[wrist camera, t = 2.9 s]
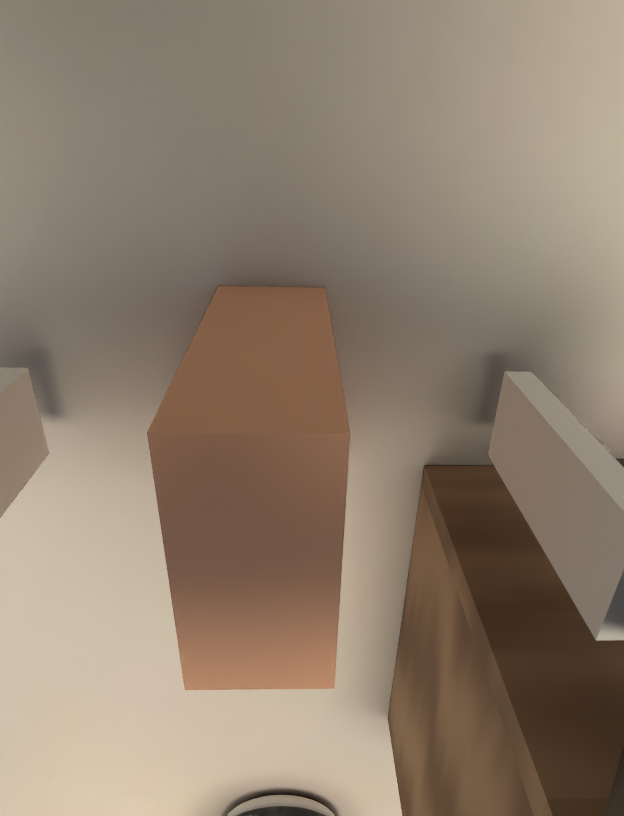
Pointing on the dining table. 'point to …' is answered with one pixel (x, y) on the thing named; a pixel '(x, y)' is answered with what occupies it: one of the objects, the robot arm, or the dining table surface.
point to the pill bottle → (280, 807)
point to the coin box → (497, 667)
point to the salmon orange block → (255, 491)
